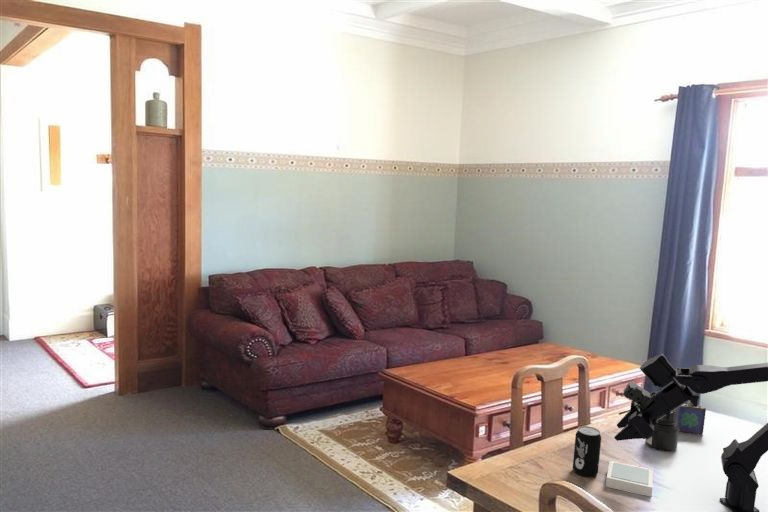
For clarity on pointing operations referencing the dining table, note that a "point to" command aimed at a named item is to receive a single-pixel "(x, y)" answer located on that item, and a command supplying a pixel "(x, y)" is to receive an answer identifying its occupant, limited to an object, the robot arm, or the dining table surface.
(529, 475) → the dining table surface
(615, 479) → the trivet
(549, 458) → the dining table surface
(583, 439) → the beverage can
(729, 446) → the robot arm
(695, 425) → the flask
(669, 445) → the ink bottle
